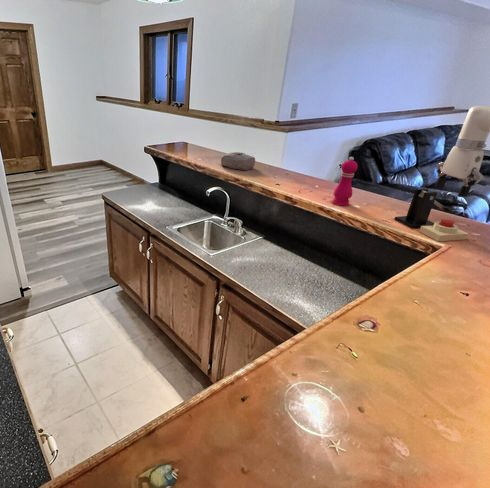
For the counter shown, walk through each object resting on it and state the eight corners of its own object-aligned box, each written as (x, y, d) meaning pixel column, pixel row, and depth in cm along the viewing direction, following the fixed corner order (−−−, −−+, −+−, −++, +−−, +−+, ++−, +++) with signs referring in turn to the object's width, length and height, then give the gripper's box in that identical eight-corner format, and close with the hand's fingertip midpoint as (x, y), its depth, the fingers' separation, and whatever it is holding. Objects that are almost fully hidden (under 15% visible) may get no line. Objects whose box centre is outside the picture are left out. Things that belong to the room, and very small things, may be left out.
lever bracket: (417, 218, 136) (428, 186, 130) (436, 227, 128) (449, 194, 122) (394, 219, 135) (404, 187, 129) (412, 228, 127) (424, 195, 121)
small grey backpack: (257, 167, 205) (228, 161, 217) (259, 153, 201) (230, 148, 214) (243, 172, 195) (214, 165, 207) (245, 157, 191) (215, 151, 204)
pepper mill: (337, 199, 155) (348, 154, 146) (353, 204, 149) (365, 157, 140) (327, 202, 151) (338, 156, 142) (343, 207, 146) (355, 159, 137)
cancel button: (445, 223, 122) (447, 219, 121) (455, 227, 119) (457, 223, 118) (436, 224, 121) (438, 219, 121) (445, 228, 118) (447, 223, 117)
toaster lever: (437, 209, 133) (442, 204, 132) (449, 214, 129) (454, 209, 128) (414, 194, 128) (419, 188, 128) (425, 198, 124) (430, 193, 123)
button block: (445, 230, 126) (450, 219, 124) (466, 239, 119) (470, 228, 117) (418, 231, 124) (422, 221, 123) (437, 241, 117) (442, 230, 116)
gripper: (504, 149, 113) (481, 199, 121) (456, 139, 128) (439, 184, 136) (484, 150, 112) (462, 200, 120) (438, 139, 127) (422, 185, 135)
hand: (450, 192), depth 128 cm, fingers open, 9 cm apart
